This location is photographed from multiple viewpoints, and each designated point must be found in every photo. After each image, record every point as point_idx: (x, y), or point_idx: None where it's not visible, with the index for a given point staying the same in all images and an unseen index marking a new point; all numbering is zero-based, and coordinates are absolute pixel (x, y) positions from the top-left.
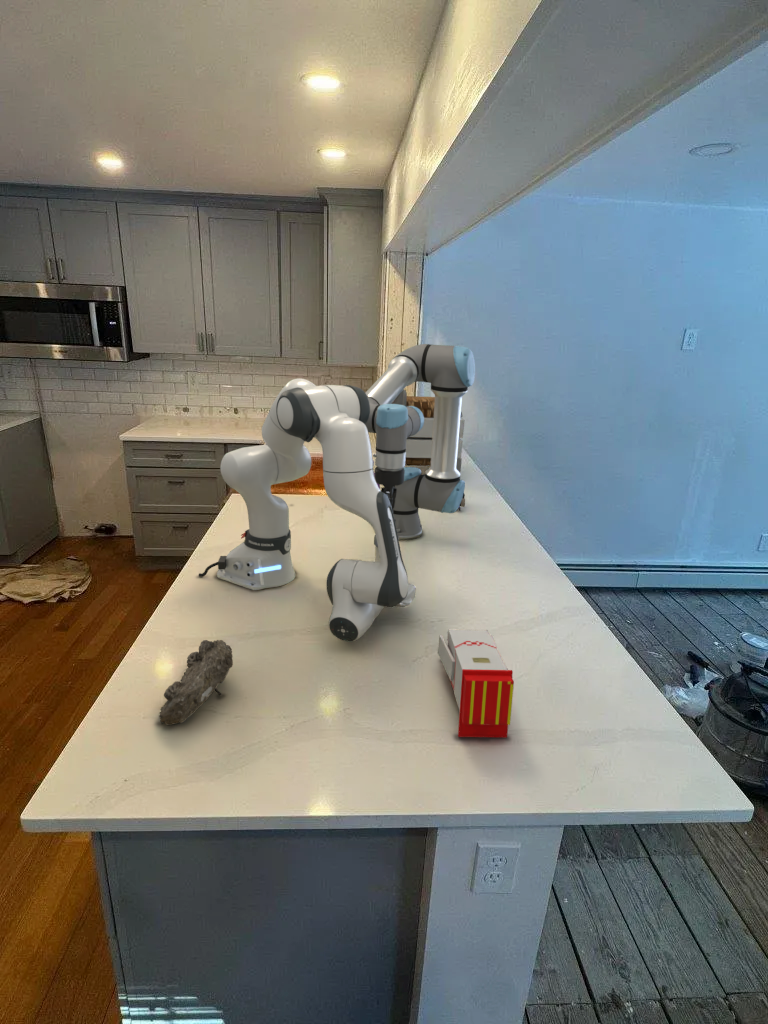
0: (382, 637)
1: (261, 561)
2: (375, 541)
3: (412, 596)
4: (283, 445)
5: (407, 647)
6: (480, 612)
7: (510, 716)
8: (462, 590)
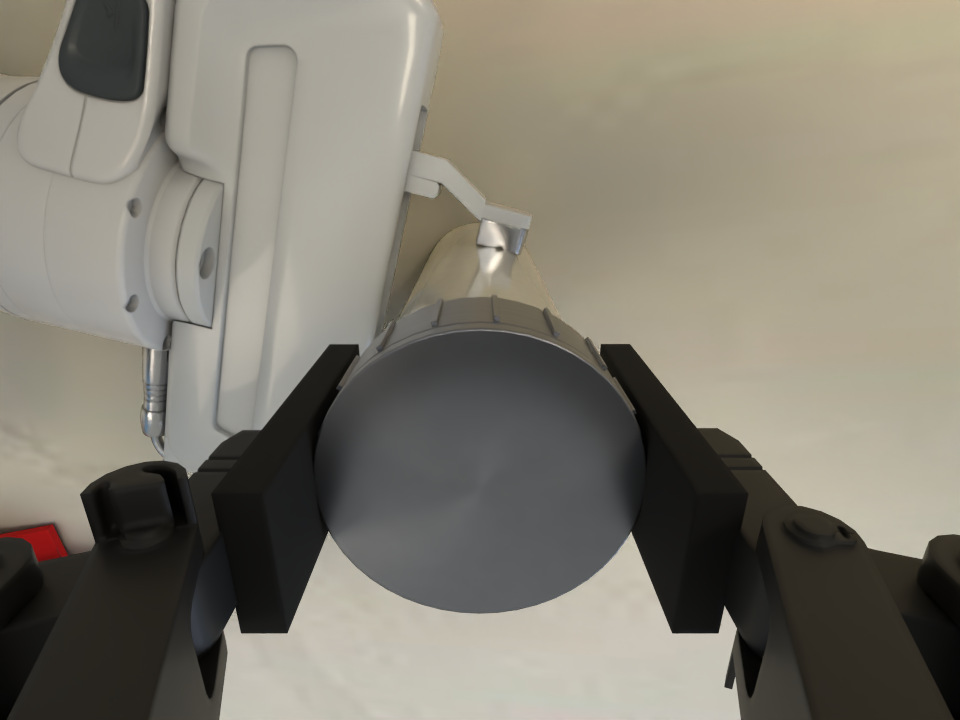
0: None
1: None
2: (397, 334)
3: None
4: None
5: (90, 403)
6: (436, 647)
7: None
8: (612, 602)
